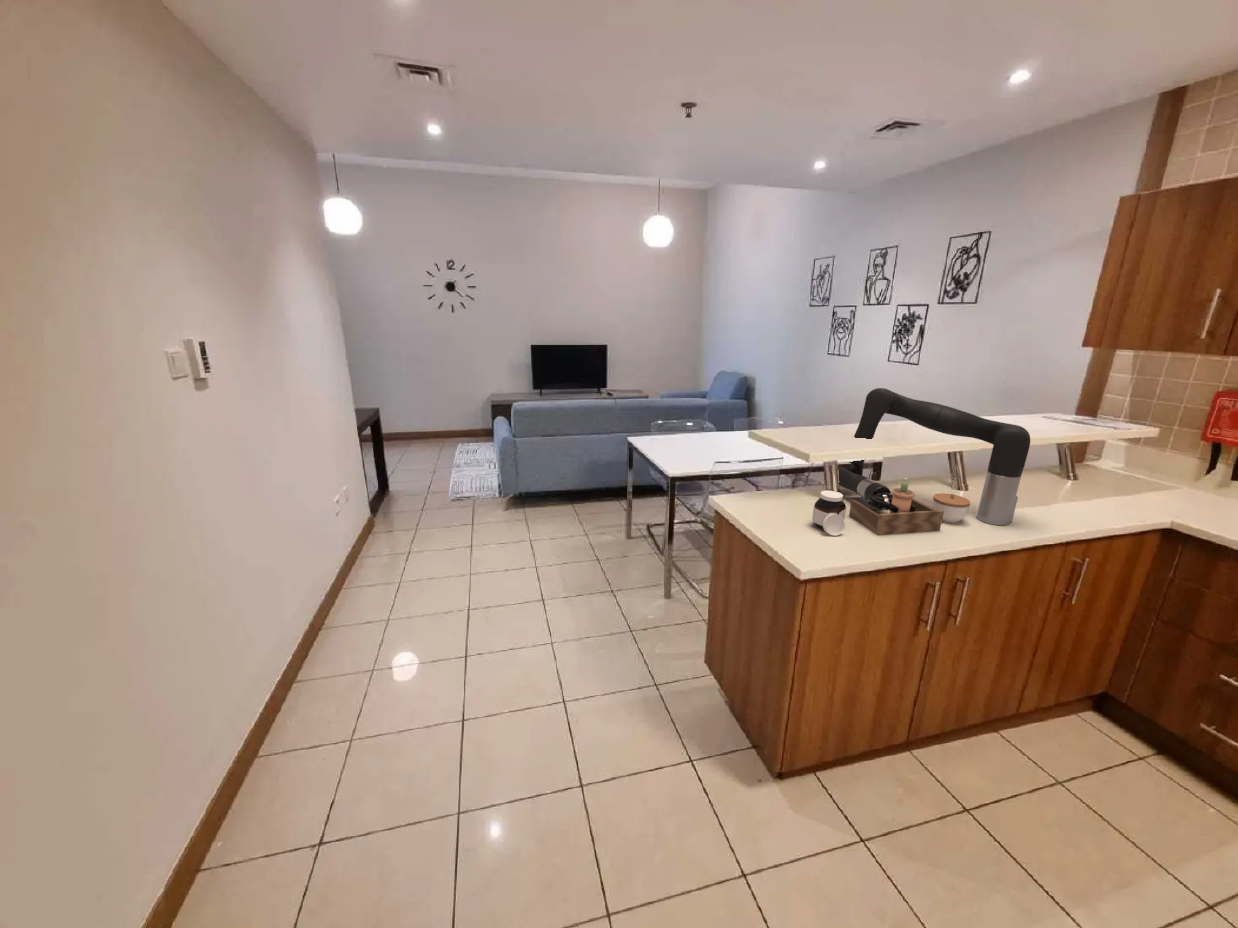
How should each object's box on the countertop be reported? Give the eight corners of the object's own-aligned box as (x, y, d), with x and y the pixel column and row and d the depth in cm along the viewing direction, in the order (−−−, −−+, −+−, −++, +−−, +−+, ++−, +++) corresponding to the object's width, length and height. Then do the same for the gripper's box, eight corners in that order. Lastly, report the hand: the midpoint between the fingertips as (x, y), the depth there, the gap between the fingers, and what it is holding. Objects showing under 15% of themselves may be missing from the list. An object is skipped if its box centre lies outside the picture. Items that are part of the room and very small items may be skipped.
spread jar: (828, 519, 174) (832, 488, 170) (856, 531, 164) (861, 498, 161) (803, 526, 168) (807, 493, 165) (831, 539, 159) (836, 505, 155)
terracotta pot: (899, 520, 172) (907, 474, 167) (912, 528, 166) (921, 480, 161) (882, 522, 171) (890, 475, 166) (894, 529, 165) (903, 481, 160)
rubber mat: (880, 496, 194) (881, 495, 194) (902, 508, 183) (902, 507, 183) (847, 498, 192) (848, 497, 192) (867, 510, 181) (867, 509, 181)
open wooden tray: (905, 512, 180) (909, 493, 178) (939, 530, 165) (944, 511, 163) (849, 515, 177) (851, 497, 175) (878, 535, 162) (881, 515, 159)
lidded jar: (932, 511, 181) (937, 486, 178) (967, 518, 175) (973, 493, 172) (926, 520, 173) (932, 495, 170) (963, 528, 167) (969, 502, 164)
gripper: (856, 483, 178) (887, 500, 162) (893, 481, 180) (927, 498, 164) (853, 502, 180) (884, 522, 165) (889, 500, 183) (923, 519, 167)
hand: (905, 510), depth 165 cm, fingers closed on terracotta pot, 5 cm apart
